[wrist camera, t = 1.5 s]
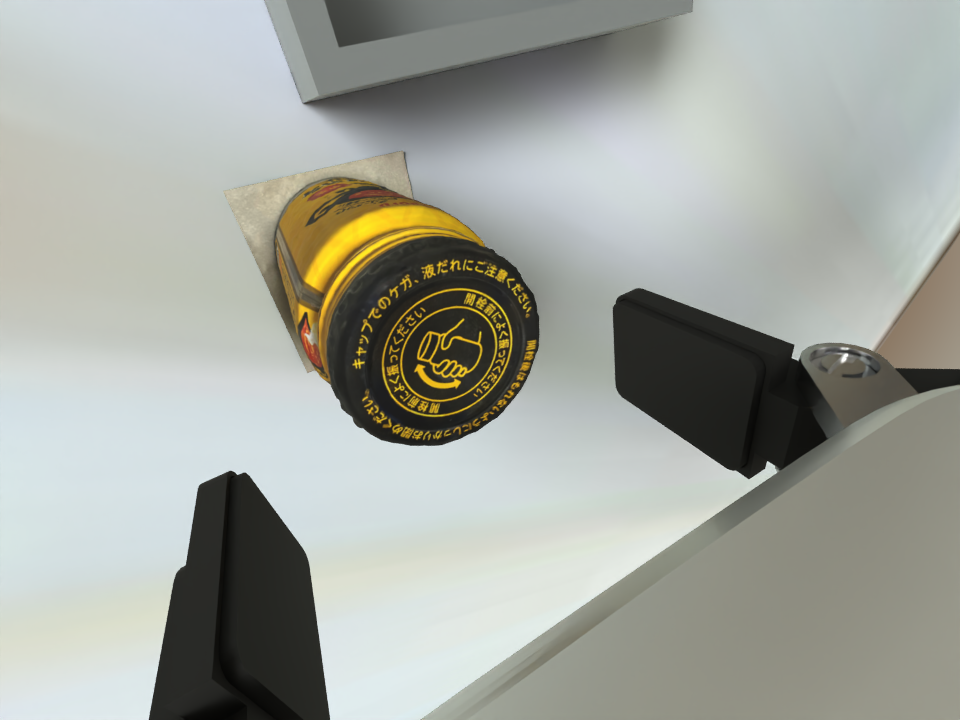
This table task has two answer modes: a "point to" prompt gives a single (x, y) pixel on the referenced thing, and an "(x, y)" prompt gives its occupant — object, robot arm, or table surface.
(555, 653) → the robot arm
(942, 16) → the table surface
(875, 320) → the table surface
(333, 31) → the box
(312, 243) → the condiment
